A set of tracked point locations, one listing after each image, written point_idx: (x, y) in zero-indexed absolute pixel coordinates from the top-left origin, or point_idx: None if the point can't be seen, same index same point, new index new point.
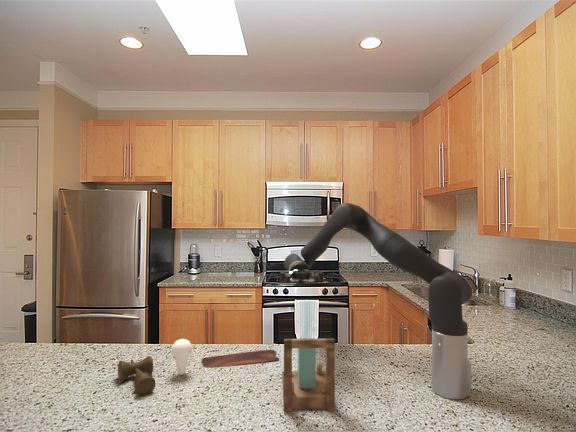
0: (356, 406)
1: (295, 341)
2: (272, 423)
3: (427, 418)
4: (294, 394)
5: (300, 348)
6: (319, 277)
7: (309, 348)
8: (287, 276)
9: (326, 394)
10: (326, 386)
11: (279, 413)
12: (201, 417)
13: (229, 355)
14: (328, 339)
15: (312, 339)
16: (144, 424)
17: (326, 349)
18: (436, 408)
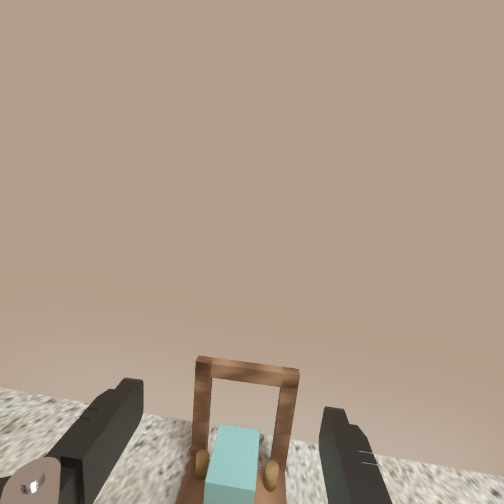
0: (145, 472)
1: (275, 367)
2: (298, 449)
3: (67, 419)
4: (263, 478)
5: (256, 431)
6: (96, 402)
7: (234, 427)
8: (361, 456)
9: (206, 449)
10: (207, 438)
11: (289, 475)
12: (421, 487)
13: None
14: (209, 359)
15: (241, 363)
16: (500, 483)
17: (210, 380)
18: (17, 439)
